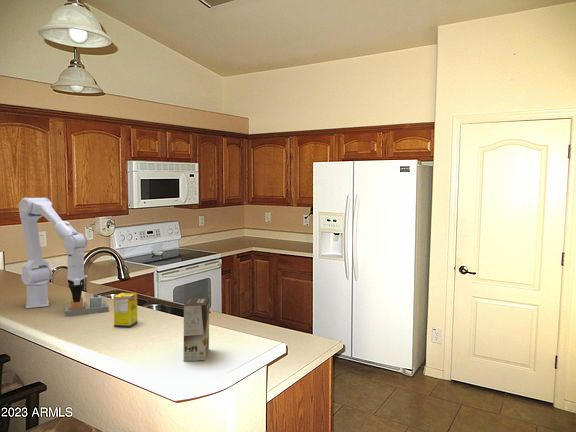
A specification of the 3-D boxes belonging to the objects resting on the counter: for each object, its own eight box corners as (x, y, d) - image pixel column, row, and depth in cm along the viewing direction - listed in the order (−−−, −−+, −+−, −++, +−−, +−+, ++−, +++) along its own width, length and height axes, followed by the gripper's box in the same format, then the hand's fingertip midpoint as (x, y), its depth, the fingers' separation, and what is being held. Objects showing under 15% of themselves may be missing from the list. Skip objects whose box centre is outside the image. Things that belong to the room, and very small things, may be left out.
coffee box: (206, 361, 119) (206, 305, 118) (183, 361, 118) (183, 305, 117) (209, 349, 128) (209, 296, 127) (188, 349, 127) (188, 297, 126)
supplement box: (137, 322, 152) (137, 292, 151) (129, 328, 146) (129, 297, 145) (122, 321, 152) (121, 292, 152) (113, 327, 147) (113, 296, 146)
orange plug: (71, 310, 166) (70, 295, 165) (82, 309, 168) (82, 294, 167) (71, 313, 162) (71, 297, 162) (82, 311, 164) (82, 296, 164)
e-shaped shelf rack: (64, 309, 167) (64, 304, 167) (105, 304, 174) (105, 300, 174) (65, 316, 158) (65, 311, 157) (108, 311, 165) (108, 306, 165)
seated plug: (90, 308, 169) (89, 293, 169) (100, 307, 171) (100, 292, 170) (90, 311, 165) (90, 296, 165) (101, 309, 167) (101, 294, 167)
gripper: (88, 267, 159) (88, 302, 160) (85, 261, 172) (86, 294, 173) (67, 269, 156) (68, 305, 157) (66, 262, 168) (66, 296, 169)
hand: (76, 299), depth 164 cm, fingers open, 7 cm apart
